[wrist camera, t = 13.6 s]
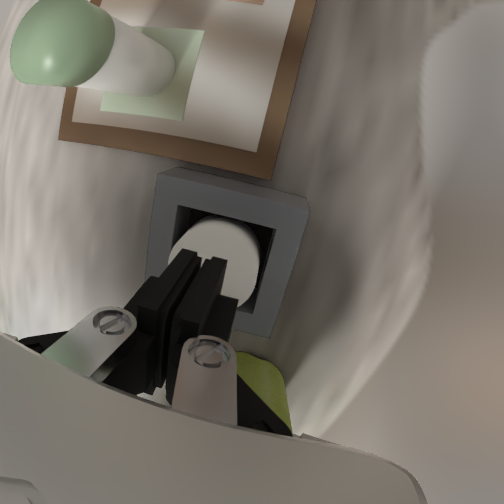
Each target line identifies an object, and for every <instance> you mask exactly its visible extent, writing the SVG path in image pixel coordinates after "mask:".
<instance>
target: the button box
mask: <svg viewBox="0 0 504 504" xmlns="http://www.w3.org/2000/svg"><path fill="white" fill-rule="evenodd" d="M191 208H194V209H198V210H202V211H206V212H210V213H214V214H218V215H223V216H227V217H231V218H235V219H239V220H243V221H247V222H250V223H254V224H258V225H262V226H266V227H270V228H274V230H273V234H272V237H271V241H270V245H269V248H268V252H267V256H266V259H265V263H264V267H263V270H262V274H261V277H260V281H259V285H258V288H257V289H256V288H254V290H253V292H252V294H251V295H250V297H249V298H248V299H247V300H246V301H245V302H244V303H243V304H242V305H240V306H238V307H237V310H236V314H235V318H234V322H233V325H232V329H234V330H238V331H242V332H246V333H250V334H254V335H258V336H262V337H266V338H270V336H271V333H272V330H273V327H274V324H275V321H276V318H277V315H278V312H279V309H280V306H281V303H282V300H283V297H284V294H285V291H286V288H287V284H288V281H289V278H290V275H291V272H292V269H293V266H294V262H295V259H296V256H297V253H298V249H299V246H300V243H301V240H302V236H303V233H304V230H305V226H306V223H307V220H308V216H309V213H310V209H309V206H308V203H307V200H306V198H304V197H301V196H297V195H293V194H289V193H286V192H282V191H278V190H274V189H270V188H266V187H262V186H258V185H254V184H250V183H246V182H242V181H238V180H234V179H229V178H225V177H221V176H216V175H212V174H208V173H203V172H199V171H194V170H189V169H185V168H180V167H176V168H173V169H170V170H167V171H165V172H162V173H159V174H158V176H157V182H156V188H155V195H154V202H153V209H152V216H151V224H150V233H149V241H148V250H147V260H146V271H145V282H146V281H147V279H148V278H149V277H150V276H156V277H160V275H161V274H162V273H163V272H164V270H165V269H166V268H167V267H168V260H169V256H170V253H171V251H172V249H173V247H174V246H175V244H176V243H177V242H178V241H179V240H180V239H181V237H182V236H183V235H184V234H185V233H186V232H187V230H188V224H189V219H190V213H191Z"/></svg>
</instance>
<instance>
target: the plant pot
mask: <svg viewBox="0 0 504 504" xmlns="http://www.w3.org/2000/svg"><path fill="white" fill-rule="evenodd" d="M235 353H236V361H237V374H238V375H239V376H240V377H241V378H242V379H243V380H244V381H245V383H246V384H247V385H248V386H249V387H250V388H251V389H252V390H253V391H254V392H255V393H256V394H257V395H258V396H259V397H260V398H261V399H262V400H263V401H264V402H265V403H266V404H267V405H268V407H269V408H270V409H271V410H272V411H273V412H274V413H275V414H276V415H277V416H278V417H279V418H280V419H281V420H282V421H283V422H284V423H285V424H286V425H287V426H288V427H289V429H290V430H291V432H292V427H291V421H290V415H289V409H288V403H287V396H286V390H285V383H284V379H283V376H282V374H281V373H280V371H279V370H278V369H277V368H276V367H275V366H274V365H273V364H272V363H271V362H269V361H265V360H261V359H259V358H256V357H254V356H252V355H250V354H248V353H245V352H235ZM292 434H293V433H292Z"/></svg>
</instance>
